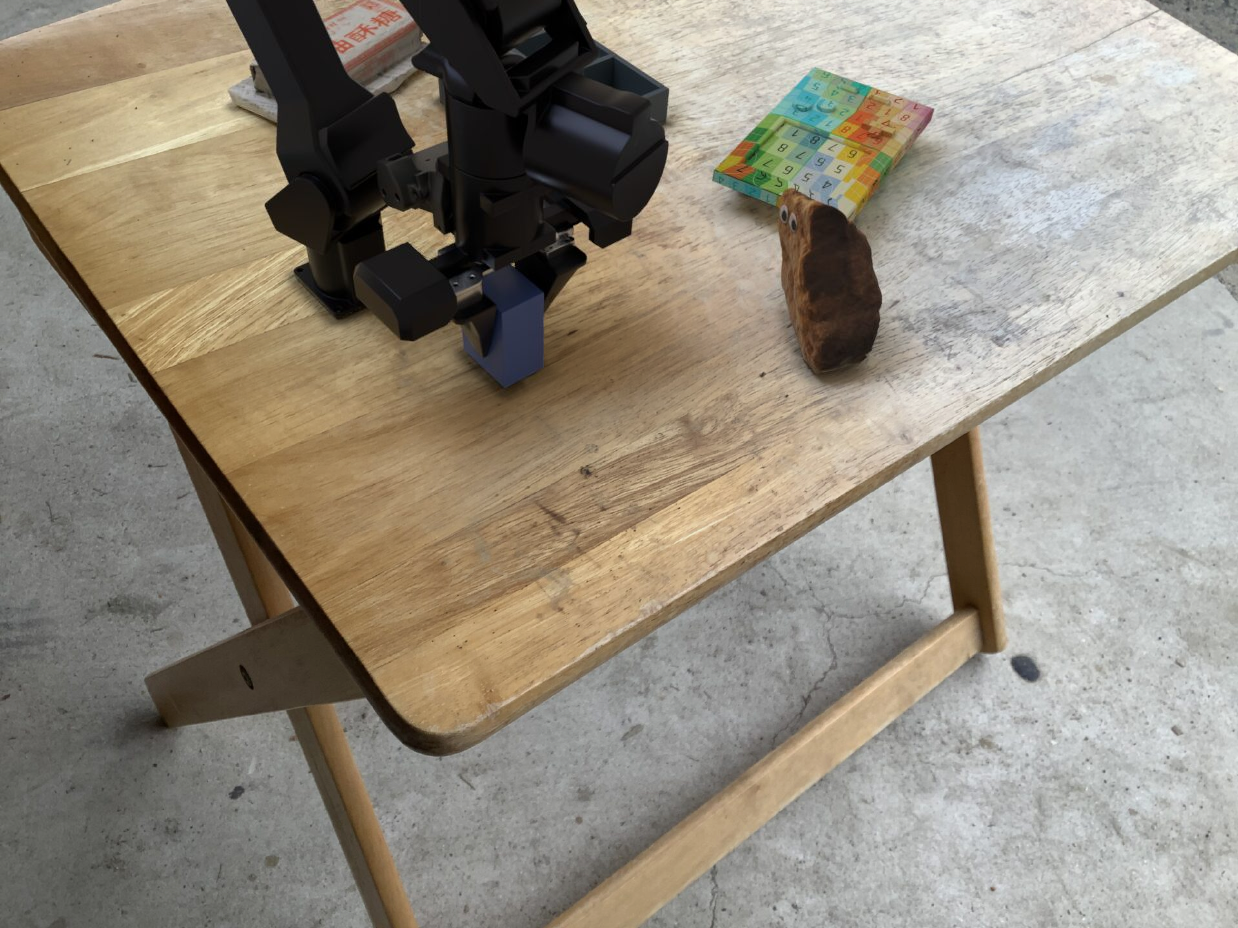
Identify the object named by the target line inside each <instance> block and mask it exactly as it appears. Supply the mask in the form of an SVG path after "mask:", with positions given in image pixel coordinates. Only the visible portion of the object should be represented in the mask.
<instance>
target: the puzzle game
mask: <svg viewBox="0 0 1238 928" xmlns="http://www.w3.org/2000/svg"><path fill="white" fill-rule="evenodd" d="M934 113H935V108H933V107H931V106H928V105H925V104H922V103H919V102H916V101H913V100H911V99H908V98H905V97H902V96H899V95H896V94H894V93H891V92H887V91H886V90H881V89H879V88H876V87H873V86H870V85H867V84H864V83H862V82H859V81H856V80H854V79H850V78H848V77H844V76H841V75H839V74H836V73H833V72H831V71H827V70H824V69H823V68H819V67H812V68H811V69H810V70H809V71H808V72H807V73H806V75H804V76H803V78H801V80H799V82H798V83H797V84H796V85H795V86H794V87H793V88H792V89H791V90H789V92H788V93H787V94H786V95H785V96H784V97H783V98H782V99H781V100H780V101H779V102H778V104H776V105H775V106H774V108H772V109H771V111H769V112H768V114H767V115H765V117H764V118H763V119H762V120H761V121H760V122H759V123H758V124H757V125H756V126H755V127H753V129H752V130H751V131H750V132H749V133H748V134H747V135H746V136H745V137H744V138H743V139H742V141H741V142H739V144H737V146H736V147H735V148H734V149H733V150H732V151H731V152H730V153H729V154H728V155H726V157H725V158H724V159H723V160H722V161H721V162H720V163H719V164H718V165H717V167H715V168H714V169H713V171H712V178H711V181H712V182H713V183H716V184H719V185H721V186H724V187H726V188H729V189H730V190H731V189H732V190H733V191H736V192H739V193H741V194H744V195H747V196H750V197H751V198H754V199H756V200H759V201H762V202H764V203H767V204H770V205H772V206H774V207H777V208H779V209H780V203H781V197H782V193H783V191H784V190H786V189H789V188H794V189H796V190H797V191H799V192H801V193H803V194H805V195H806V196H808V197H809V198H811V199H812V200H815V201H818V202H821V203H824V204H827V205H830V206H833V207H835V208H837V209H839V210H840V211H841V212H843V213H844V214H845V215H846V217H847V218H848V219H849V220H852V221H854V220H855V218H856V217H857V216H858V215H859V213H860V212H861V211H862V209H863V208H864V207H865V206H866V204H867V203H868V201H869V200H870V199H871V198H872V196H873V195H874V194H875V192H876V191H877V190H878V189H879V188H880V186H881V185H882V184H883V182H884V181H885V180H886V178H888V176H889V175H890V173H891V172H893V170H894V168H895V167H896V166H897V165H898V164H899V162H900V161H901V160H902V158H903V157H904V156H905V154H906V153H907V152H908V151H909V149H910V148H911V147H912V146H913V144H914V143H915V142H916V141H917V140H918V138H919V136H920V135H921V134H922V133H923V132H924V130H925V129H926V128H927V127H928V126H929V124H930V123H931V122H932V118H933V115H934Z"/></svg>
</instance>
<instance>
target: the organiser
mask: <svg viewBox="0 0 1238 928" xmlns="http://www.w3.org/2000/svg"><path fill="white" fill-rule="evenodd" d="M593 40H594V42H595V44H596V46H597V48H598V50H599V54H600V56H599V58H598V59H597V60H595V61H594V62H592V63H591V64H590V65H588V66H587V67H585V68H584V76H585V77H587V78H590V79H592V80H594V81H597V82H599V83H602V84H604V85H607V86H609V87H612V88H614V89H617V90H620V91H626V92H632V93H635V94H637V95H640V96H642V97H645V98H647V99H649V100H650V101H651V103H652V110H651V118H652V119H654V120H657V121H658V122H660V123H661V124H662V126H663V125H665V124H667V117H668V108H669V107H668V106H669V99H670V88H669V87H667V86H666V85H664V84H663V83H661V82H660V81H658V79H655V78H654V77H652V76H650V75H649V74H648V73H646V72H644V70H642V69H640V68H639V67H637V66H635V65H634V64H633V63H631V62H630V61H628V60H627V59H625V58H624V57H622V56H620V55H618V54H617V53H616V52H614V51H613V50H611V49H610V48H608V47H606V46H605V45H604V44H602V43H600V42H599V41H597V40H596V39H594V38H593ZM550 41H552V38H551V37H550V36H549V35H548V34H547V32H546V31H545V30H544V29H542V30H541V31H539V32H538V33H536V34H535V35H533V36H532V37H530V38H529V39H527V40H526V41H524V42H522V43H521V44H519V45H518V46H516V47H515V48H513V49H512V50H510V51H511V52H514V53H516V54H519V55H521V56H523V57H524V58H526V57H528V56H529V55H531V54H532V53H534V52H535V51H537V50H538V49H540V48H541V47H543V46H544V45H546V44H547V43H549V42H550ZM437 80H438V81H437V82H438V92H439V93H438V94H439V103H441V104H442V105H443V106H444V107H445V102H444V88H443V81H442V80H441V79H439V78H437Z"/></svg>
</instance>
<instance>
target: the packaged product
mask: <svg viewBox="0 0 1238 928" xmlns="http://www.w3.org/2000/svg"><path fill="white" fill-rule="evenodd" d="M322 20H323V22H324V24H325V26H326V29H327V31H328V33H329V35H330V37H331V39H332V42H333V44H334V46H335V48H336V50H337V52H338V55H339V57H340V59H341V61H342V63H343V65H344V67H345V69H346V71H347V73H348V74H349V76H351V77H352V78H353V79H355V80H356V81H357V82H359V83H360V84H361V85H363V86H364V87H365V88H367V89H368V90H369V91H371V92H372V93H373V94H375V95H377V94H379V93H381V92H387V93H388V94H390V93H392V92H394V91H396V90H397V89H398V88H399V86H401V85H402V84H403V83H404V81H405V80H406V79H407V78H409V77H410V76H412V75H413V74H414V73H415V72H417V71H419V69H416V68H415V67H414V66H413V65H412V62H411V58H412V56H413V55H415V54H417V53H418V52H420V51H421V50H423V49H424V48H425V47H426V46H427V45H428V44H429V43H430V42H427V41H422V38H423V37H424V33H423V32H422V30H421V29H420V28H419V26H418V25H417V24H416V22H415V21H414V20H413V18H412V17H411V16H410V14H409V13H408V12H407V10H406V9H405V8H404V6H403V5H402V4H401V3H397V2H394V1H393V0H357V1H355V2H354V3H351V4H350V5H349V6H347V7H344V8H343V9H341V10H339V11H337V12H336V13H333V14H332V15H329V16H328V17H327V18H325V19H322ZM249 71H250V76H249V77H247V78H245V79H242V80H241V81H240V82H238V83H236V84H234V85H232V86H230V87H228V88H227V93H228V95H229V97H230V99H231V101H232V104H233V105H236V106H238V107H240V108H242V109H245V110H246V111H250V112H252V113H254V114H256V115H259V116H261V117H263V118H265V119H267V120H269V121H271V122H274V123H276V124H277V102H276V100H275V97H274V95H273V93H272V91H271V89H270V87H269V85H268V83H267V81H266V79H265V77H264V75H263V73H262V72H261V70H260V68H259V66H258V64H257V62H256V60H255V58H254V59H252V60H251V62H250V64H249Z"/></svg>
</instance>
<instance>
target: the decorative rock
mask: <svg viewBox="0 0 1238 928" xmlns="http://www.w3.org/2000/svg"><path fill="white" fill-rule="evenodd" d="M855 223H856V222H854V220H849V219H848V218H847V217H846V215H845V214H844V213H843V212H841V211H840V210H839V209H837V208H835V207H833V206H830V205H827V204H824V203H821V202H818V201H815V200H812V199H811V198H809V197H808V196H806V195H805V194H803V193H801V192H799V191H797V190H796V189H794V188H789V189H786V190H784V191H783V193H782V197H781V203H780V208H779V215H778V221H777V229H778V231H777V232H778V235H779V242H780V247H781V266H780V281H781V287H782V289H783V290H782V291H784V297H785V303H786V307H787V309H788V313H789V317H790V323H791V325H792V327H793V329H794V331H795V333H796V338H797V342H798V346H799V347H800V351H801V353H800V354H801V356H802V357H803V360H804V361H805V363H806V364H807V365H808V366H809V368H810V369H811V370H812V371H813V373H814V374H816V375H818V374H823V373H827V372H833V371H836V370H840V369H843V368H847V367H851V366H854V365H857V364H858V365H860V364H861V363H862V362H864V361H866V360H867V358H868V356H867V355H868V354H870V353H871V352H872V351H873V348H874V344H875V342H876V339H877V336H878V332H879V329H880V324H881V313H880V310H881V308H882V305H883V294H882V290H881V288H880V285H879V280H878V277H877V275H876V271H875V269H874V261H873V254H872V247H871V245H870V243H869V240H868V237H867V235H866V234H865V233H864V232H863V231H861V230H860V229H859V228H858V227H857V225H856V224H855Z"/></svg>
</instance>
